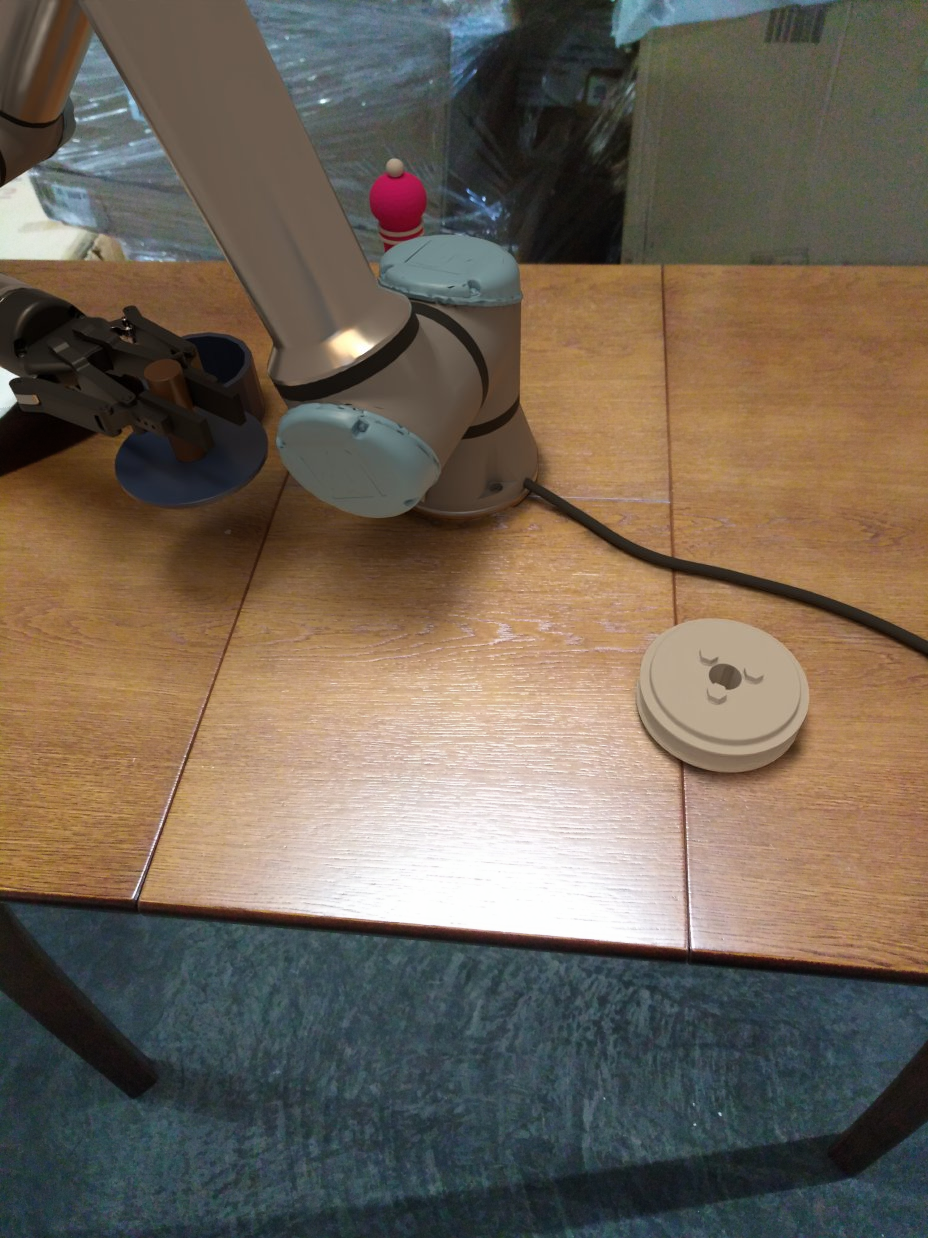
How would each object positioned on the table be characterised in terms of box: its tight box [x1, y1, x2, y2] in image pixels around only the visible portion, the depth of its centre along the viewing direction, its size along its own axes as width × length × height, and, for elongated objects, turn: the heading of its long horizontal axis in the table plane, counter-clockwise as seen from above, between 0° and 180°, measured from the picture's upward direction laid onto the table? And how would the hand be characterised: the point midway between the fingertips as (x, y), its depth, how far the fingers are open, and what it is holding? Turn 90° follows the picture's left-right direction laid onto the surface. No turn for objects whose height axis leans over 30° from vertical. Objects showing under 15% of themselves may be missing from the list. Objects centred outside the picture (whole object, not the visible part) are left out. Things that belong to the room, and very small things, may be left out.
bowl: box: [139, 331, 266, 423], centre depth 95 cm, size 11×11×6 cm
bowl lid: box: [114, 359, 270, 510], centre depth 71 cm, size 13×13×9 cm
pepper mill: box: [368, 158, 428, 254], centre depth 98 cm, size 7×7×20 cm
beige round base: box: [635, 617, 810, 773], centre depth 69 cm, size 13×13×5 cm
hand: (223, 421), depth 68 cm, fingers closed on bowl lid, 3 cm apart
